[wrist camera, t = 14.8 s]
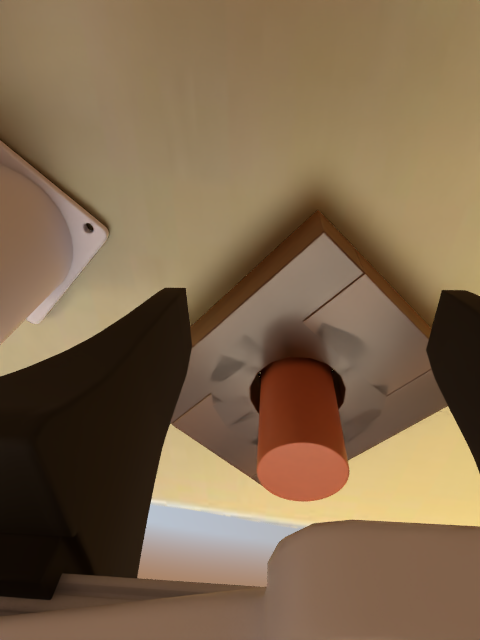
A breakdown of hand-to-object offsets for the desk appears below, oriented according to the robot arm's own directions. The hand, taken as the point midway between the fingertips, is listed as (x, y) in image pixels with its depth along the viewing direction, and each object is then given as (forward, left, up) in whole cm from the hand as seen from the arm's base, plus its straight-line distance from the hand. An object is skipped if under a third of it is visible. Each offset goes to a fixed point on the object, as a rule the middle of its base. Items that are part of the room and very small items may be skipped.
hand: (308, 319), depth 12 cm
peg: (+7, -6, -9) cm, 13 cm away
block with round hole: (+7, -6, -9) cm, 13 cm away
